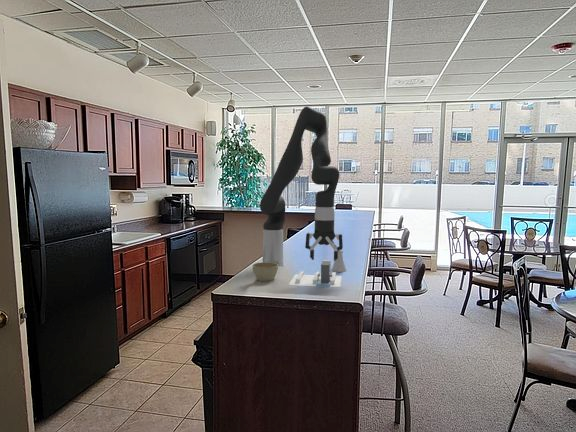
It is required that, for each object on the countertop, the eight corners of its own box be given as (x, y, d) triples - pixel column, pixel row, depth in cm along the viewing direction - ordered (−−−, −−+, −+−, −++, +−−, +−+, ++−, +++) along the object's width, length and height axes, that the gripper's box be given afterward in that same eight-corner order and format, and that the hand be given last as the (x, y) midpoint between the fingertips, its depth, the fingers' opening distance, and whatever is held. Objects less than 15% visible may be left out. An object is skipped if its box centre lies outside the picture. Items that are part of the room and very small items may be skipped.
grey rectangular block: (320, 283, 149) (321, 264, 148) (322, 277, 158) (323, 259, 157) (328, 283, 148) (329, 265, 148) (330, 277, 157) (330, 260, 157)
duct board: (288, 288, 147) (288, 279, 146) (295, 277, 163) (295, 269, 162) (340, 291, 144) (340, 281, 143) (341, 279, 159) (341, 271, 159)
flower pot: (268, 287, 149) (268, 268, 148) (247, 283, 154) (247, 265, 153) (282, 281, 157) (282, 263, 156) (262, 278, 162) (262, 261, 162)
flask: (336, 276, 165) (337, 253, 164) (327, 272, 171) (327, 250, 170) (350, 274, 168) (351, 251, 167) (340, 271, 174) (341, 248, 173)
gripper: (343, 218, 154) (342, 258, 155) (307, 216, 156) (306, 257, 158) (342, 220, 146) (341, 263, 148) (304, 219, 149) (304, 261, 151)
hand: (323, 260), depth 153 cm, fingers open, 8 cm apart
